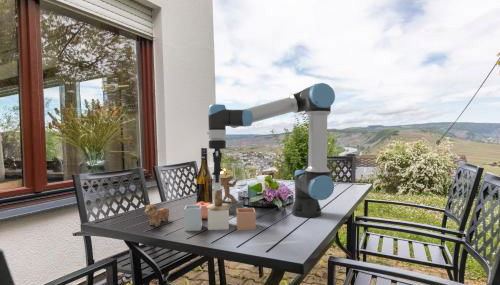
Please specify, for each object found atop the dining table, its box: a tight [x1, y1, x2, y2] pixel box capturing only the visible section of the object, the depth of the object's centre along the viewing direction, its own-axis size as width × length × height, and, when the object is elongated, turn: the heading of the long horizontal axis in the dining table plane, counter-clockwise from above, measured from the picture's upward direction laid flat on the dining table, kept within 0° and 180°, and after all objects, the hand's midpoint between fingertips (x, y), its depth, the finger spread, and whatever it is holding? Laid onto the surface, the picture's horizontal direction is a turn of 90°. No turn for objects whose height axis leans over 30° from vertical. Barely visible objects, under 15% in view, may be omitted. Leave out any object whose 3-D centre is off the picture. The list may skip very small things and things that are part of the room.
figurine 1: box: [143, 204, 170, 227], centre depth 142 cm, size 7×16×10 cm, turn 158°
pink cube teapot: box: [194, 201, 211, 219], centre depth 151 cm, size 8×12×8 cm, turn 83°
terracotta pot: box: [235, 207, 257, 231], centre depth 133 cm, size 8×8×8 cm
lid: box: [207, 188, 230, 211], centre depth 134 cm, size 10×10×8 cm
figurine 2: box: [220, 166, 244, 216], centre depth 160 cm, size 14×11×25 cm
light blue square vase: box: [183, 204, 203, 232], centre depth 132 cm, size 7×7×10 cm
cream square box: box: [207, 209, 230, 231], centre depth 134 cm, size 9×9×9 cm
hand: (217, 187), depth 134 cm, fingers open, 13 cm apart
